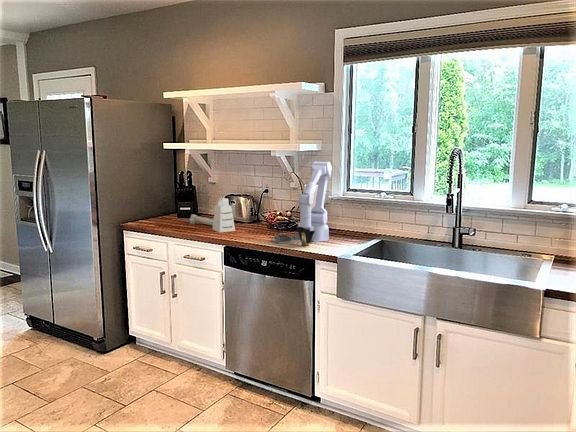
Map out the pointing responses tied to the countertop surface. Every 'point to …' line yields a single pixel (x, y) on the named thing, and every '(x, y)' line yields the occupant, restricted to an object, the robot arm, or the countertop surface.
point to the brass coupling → (304, 239)
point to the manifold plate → (286, 239)
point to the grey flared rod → (200, 220)
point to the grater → (223, 216)
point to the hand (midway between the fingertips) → (305, 241)
